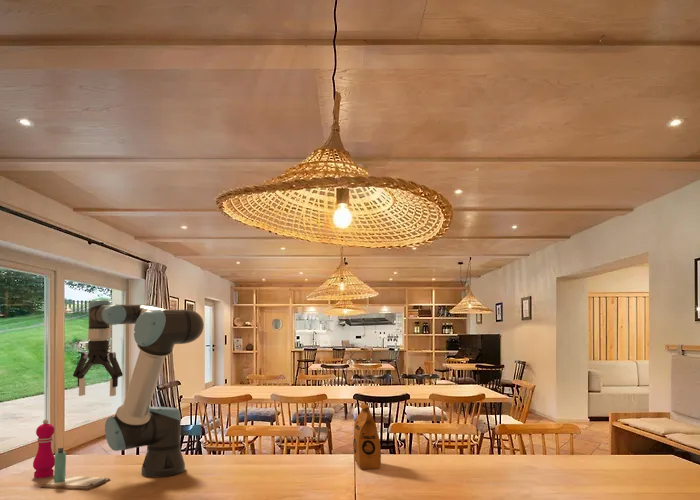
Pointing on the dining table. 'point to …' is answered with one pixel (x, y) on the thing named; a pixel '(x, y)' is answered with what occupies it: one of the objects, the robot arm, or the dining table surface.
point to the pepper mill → (44, 451)
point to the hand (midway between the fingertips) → (97, 395)
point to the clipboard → (76, 483)
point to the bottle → (60, 465)
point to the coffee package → (366, 440)
